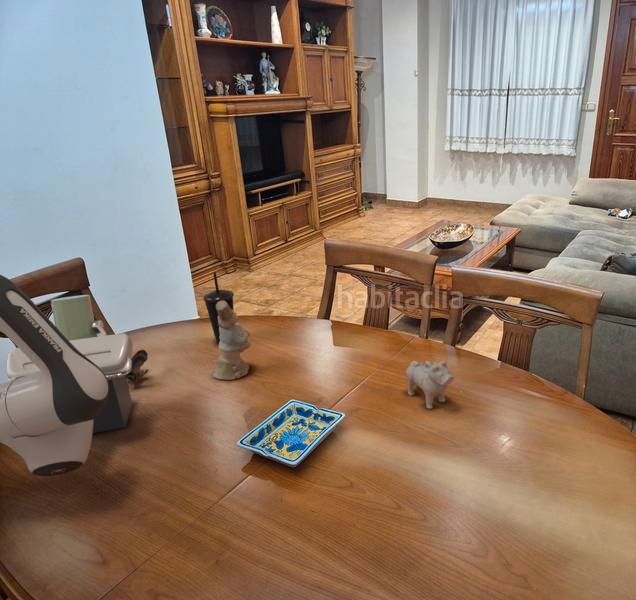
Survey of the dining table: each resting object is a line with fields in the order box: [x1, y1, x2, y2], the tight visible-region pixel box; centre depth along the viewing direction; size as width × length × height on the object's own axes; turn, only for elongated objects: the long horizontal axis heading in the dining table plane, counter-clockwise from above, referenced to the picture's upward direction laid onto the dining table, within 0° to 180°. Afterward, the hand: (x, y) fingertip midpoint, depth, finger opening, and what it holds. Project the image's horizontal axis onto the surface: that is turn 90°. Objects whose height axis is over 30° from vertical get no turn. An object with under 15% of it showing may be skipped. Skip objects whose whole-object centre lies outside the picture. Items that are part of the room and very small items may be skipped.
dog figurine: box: [405, 360, 455, 410], centre depth 109 cm, size 5×13×11 cm, turn 39°
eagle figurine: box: [125, 349, 149, 390], centre depth 120 cm, size 8×7×9 cm
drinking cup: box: [202, 271, 235, 346], centre depth 135 cm, size 8×8×20 cm
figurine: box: [212, 301, 251, 381], centre depth 120 cm, size 9×8×20 cm
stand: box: [93, 376, 133, 434], centre depth 104 cm, size 11×9×16 cm
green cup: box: [50, 294, 98, 341], centre depth 100 cm, size 6×6×10 cm
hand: (76, 325), depth 100 cm, fingers closed on green cup, 6 cm apart
